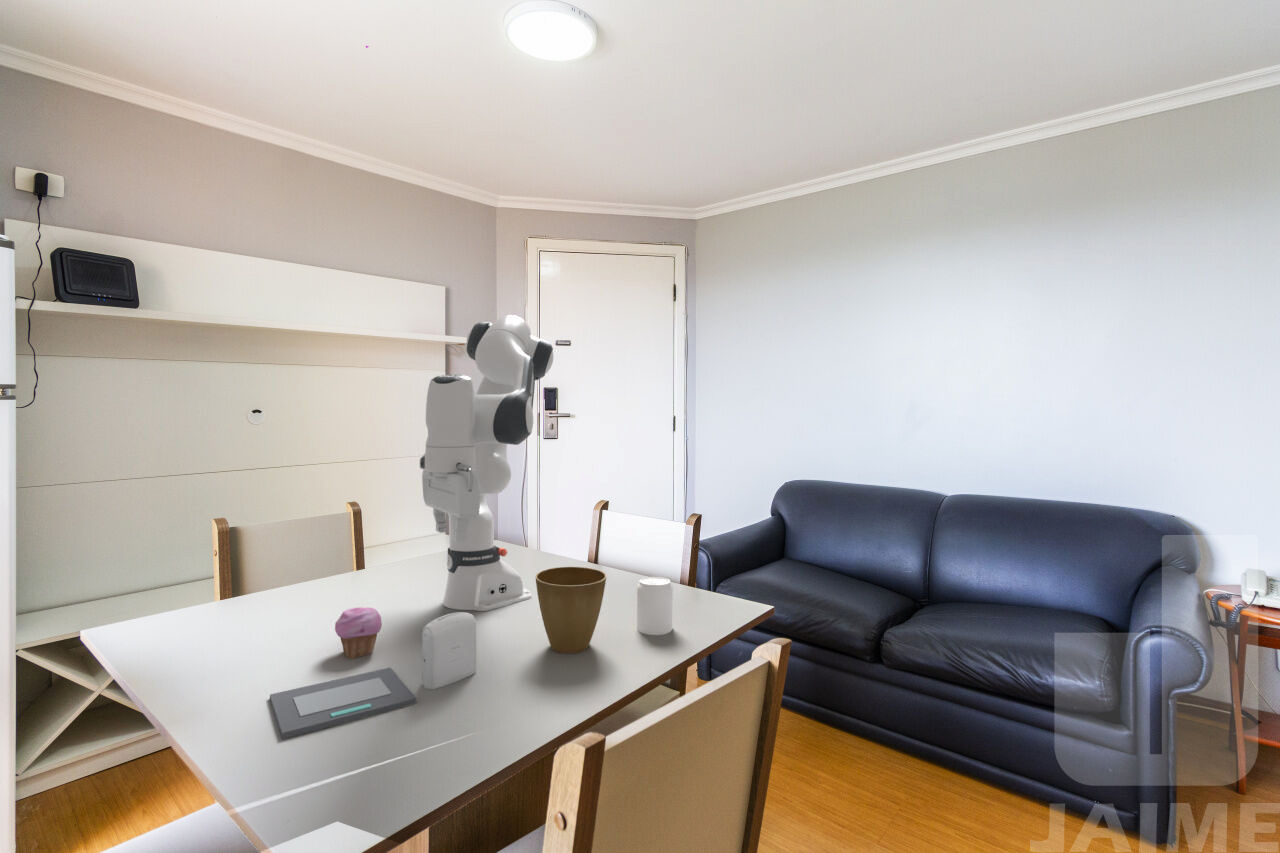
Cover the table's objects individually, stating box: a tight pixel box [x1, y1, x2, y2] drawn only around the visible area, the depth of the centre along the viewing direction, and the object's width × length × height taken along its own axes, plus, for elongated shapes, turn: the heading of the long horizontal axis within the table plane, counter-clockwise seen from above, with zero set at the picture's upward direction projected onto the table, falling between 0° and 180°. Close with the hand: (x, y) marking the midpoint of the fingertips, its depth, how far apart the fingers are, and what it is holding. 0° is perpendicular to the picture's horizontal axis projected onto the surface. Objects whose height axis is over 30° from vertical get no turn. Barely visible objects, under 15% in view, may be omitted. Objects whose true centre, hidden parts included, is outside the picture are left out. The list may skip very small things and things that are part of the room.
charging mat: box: [269, 667, 417, 740], centre depth 107 cm, size 20×16×1 cm
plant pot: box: [535, 566, 607, 655], centre depth 132 cm, size 15×15×16 cm
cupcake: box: [334, 606, 383, 660], centre depth 127 cm, size 9×9×10 cm
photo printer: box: [421, 611, 477, 690], centre depth 116 cm, size 10×4×12 cm, turn 140°
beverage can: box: [636, 576, 674, 636], centre depth 143 cm, size 8×8×12 cm
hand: (450, 536), depth 116 cm, fingers open, 8 cm apart
